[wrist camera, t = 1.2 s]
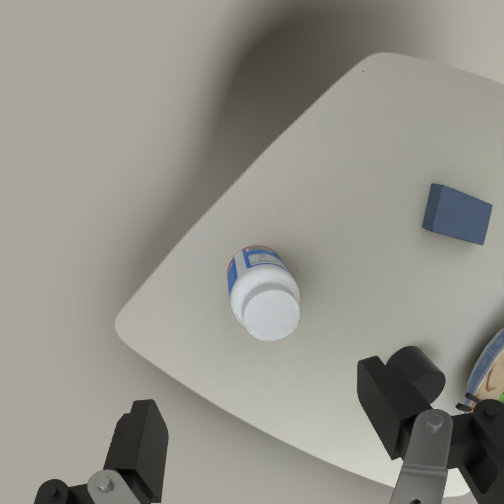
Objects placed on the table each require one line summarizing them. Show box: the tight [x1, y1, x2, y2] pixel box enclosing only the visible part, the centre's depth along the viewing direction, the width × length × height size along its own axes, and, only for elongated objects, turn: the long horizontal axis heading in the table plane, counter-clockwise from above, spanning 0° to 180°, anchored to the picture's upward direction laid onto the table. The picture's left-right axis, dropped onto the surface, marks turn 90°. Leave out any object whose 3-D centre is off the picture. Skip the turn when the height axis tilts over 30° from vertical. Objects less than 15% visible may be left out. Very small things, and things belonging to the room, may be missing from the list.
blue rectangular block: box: [422, 183, 492, 245], centre depth 31 cm, size 9×5×2 cm, turn 79°
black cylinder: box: [386, 346, 445, 404], centre depth 34 cm, size 6×6×6 cm
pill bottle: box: [227, 246, 300, 341], centre depth 26 cm, size 6×5×10 cm
